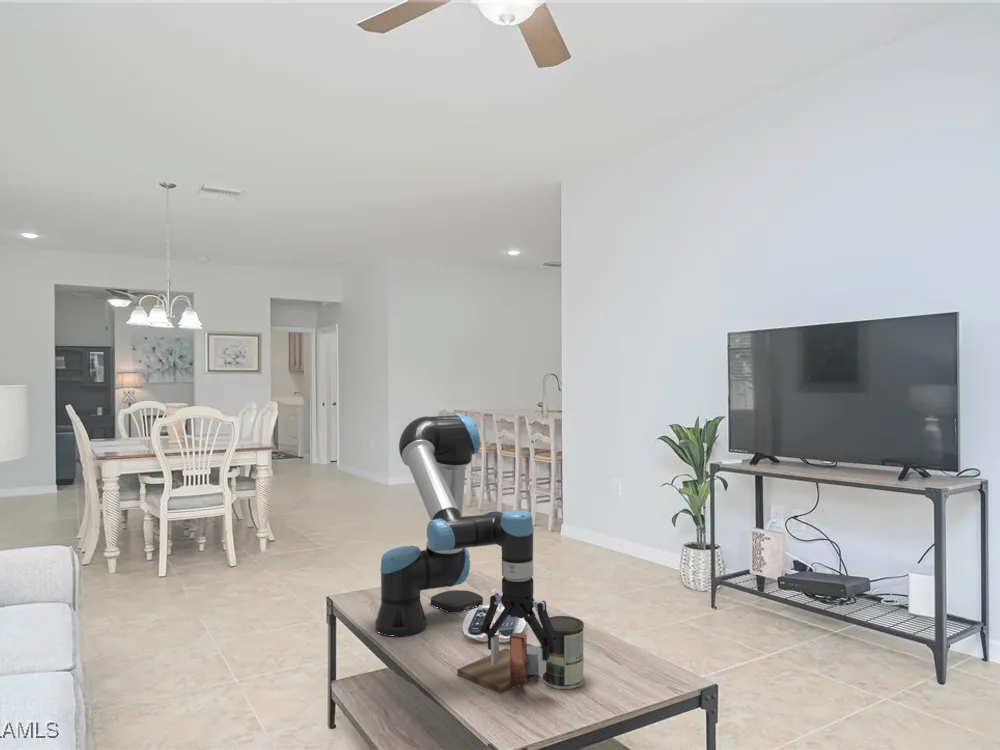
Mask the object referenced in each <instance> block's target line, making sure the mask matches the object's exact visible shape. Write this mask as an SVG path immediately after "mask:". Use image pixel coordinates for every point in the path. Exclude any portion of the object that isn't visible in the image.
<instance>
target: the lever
mask: <svg viewBox="0 0 1000 750" xmlns="http://www.w3.org/2000/svg"><path fill="white" fill-rule="evenodd" d="M527 637H528V635H527V634H525V633H524V632H513V633H511V634H510V635H509V649H510V683H511V684H512V685H514V686H516V687H522V686H525V685H527V684H528V680H527V674H530V675H537V676H539V675H538V669H539V663H538V647H539V646H540V645H538V646H537V645H533V644H530V643H528V642H527V640H528V639H527Z"/></svg>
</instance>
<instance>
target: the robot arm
mask: <svg viewBox="0 0 1000 750" xmlns="http://www.w3.org/2000/svg"><path fill="white" fill-rule="evenodd" d="M398 443H399V444H398V451H399V456H400V458H401V461H402V462H403V464H404V465H405V466H407V467H408V468H409V471H410V473H411V475H412V478H413V480H414V483H415V485H416V487H417V490H418V492H419V495H420V497H421V499H422V502H423V504H424V508H425V510H426V512H427V514H428V517H429V519H430V521H429V522H428V524H427V527H426V537H427V542H426V549H423V550H421V549H420V547H419V546H416V545H409V546H408V545H403V546H399V547H395V548H392V549H390V550H387V551H386V552H385V553H384V554H383V555H382V556H381V559H380V560H381V563H380V593H381V594H380V597H381V598H380V600H381V601H380V605H379V610H378V613H377V616H376V619H375V628H376V629H375V628H374V629H375V631H376V630H377V631H378V632H380V633H382V634H386V635H394V636H399V637H407V636H406V635H409V636H413V635H417V634H419V633H421V632H423V631H424V630H426V628H427V617H426V615H425V611H424V608H423V604H422V602H421V591H425V590H433V589H439V588H451V587H454V586H458V585H462V584H463V583H464V582H465V581H466V580H467V579H468V576H469V573H470V568H471V560H470V553H469V550H468V548H475V547H486V546H493V545H498V546H500V547H501V576H502V578H501V592H502V595H500V594H499V593H498V592H497V593H494V594H493V595H491V596H490V598H489V606H488V609H487V612H486V614H485V618H484V619H483V623H482V625H481V627H480V630H479V631H480V632H481V634H485V635H486V636H487V649H488V650H490V655H491V665H493V666H494V665H495V664H497V663H498V662H499V651H500V634H496V633H498V630H499V629H500V627H502V625H503V624H504V623H505V621H506V620H507V618H508V617H509V616H510V617H511V618H517V619H524V621H525V622H526V623H527V624H528V626H529V628H530V629H531V631H532V633H533V634H534V635H535V637H536V639H537V640H538V642H539V644H540V645H538V646H539V647H538V663H539V675H538V676H541V677H543V674H544V673H545V672H546V661H547V660H548V659H549V657H550V653H549V646H553V645H554V644H555V643H556V642H557V638H556V635H555V632H554V630H553V627H552V624H551V621H550V619H549V617H550V616H549V613H548V610H547V602H546V601H545V600H541V601H538V600H537V601H535V599H534V578H533V576H534V525H533V524H534V523H533V516H532V514H531V512H529V511H526V510H525V511H524V510H507V511H505V512H501V511H499V510H489V511H486V512H485V513H484V514H477V515H469V516H468V515H467V516H463V503H464V492H465V479H466V469H467V466H469V465H470V464H471V463H472V455H476V454H478V453H479V450H480V448H481V437H480V431H479V429H478V425H477V423H476V422H475V420H474V419H473V418H472V417H471V416H469V415H459V414H456V415H440V416H439V415H434V416H429V415H428V416H421V417H417V418H416V419H414V420H412V421H411V422H410V423H408V425H407V426H406V427H405V428H404V429H403V431H402V433H401V435H400V438H399V441H398ZM499 604H502V606H503V610H502V611H501V613H499V616H498V618H497V619H496V620H495V622H494V623H493V620H494V618H495V616H496V615H495V614H496V613H497V610H498V607H499ZM533 608H534V609H535V611H536V613H537V616H538V618H537V617H536V613H535V612H534V610H533ZM538 619H539V620H538ZM492 623H493V624H492ZM491 625H492V626H491ZM377 631H376V632H377ZM378 632H377V633H378ZM382 634H381V635H382ZM386 635H385V636H386ZM394 636H393V637H394Z"/></svg>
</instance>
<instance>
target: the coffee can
mask: <svg viewBox="0 0 1000 750" xmlns="http://www.w3.org/2000/svg"><path fill="white" fill-rule="evenodd" d="M549 619H550V621H551V624H552V627H553V630H554V632H555V635H556V638H557V642H556V643H555V644H554V645H553V646H549V653H550V657H549V659H548V660H547V661H546V672H545V673H544V674H543V675H542V678H541V679H542V682H543V683H544V684H545V686H548V687H550V688H553V689H557V690H573V689H575V688H578V687H581V686H582V685H583V684H584V681H585V679H584V677H585V676H584V627H585V623H584V622H583V620H581V619H580V618H577V617H574V616H570V615H569V616H567V615H555V616H549Z"/></svg>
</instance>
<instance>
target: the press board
mask: <svg viewBox="0 0 1000 750" xmlns="http://www.w3.org/2000/svg"><path fill="white" fill-rule="evenodd" d="M456 672H457V674H456V675H457V676H459V677H461V678H463V679H465V680H468V681H470V682H473V683H475V684H478V685H480V686H482V687H484V688H487V689H490V690H492V691H494V692H497V693H499V694H503V693H506V692H508V691H509V690H511V689H513V688H515V687H517V686H514V685H512V684H511V683H510V648H507V647H505V648H501V649H499V662H498V663H497V664H495V665H494V666H493V665H491V654H488V655H486V656H484V657H482V658H480V659H478V660H475V661H473V662H471V663H469V664H466V665H465V666H462V667H459V668H457V671H456ZM536 676H540V675H539V669H538V675H530V674H527V681H529V680H530V679H533V678H535V677H536Z"/></svg>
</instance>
